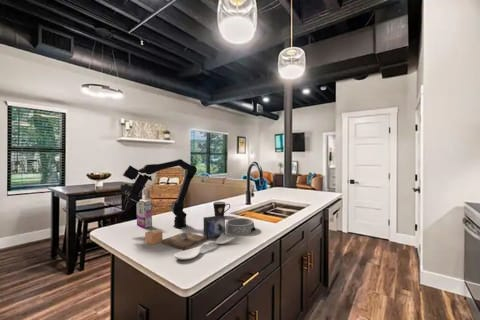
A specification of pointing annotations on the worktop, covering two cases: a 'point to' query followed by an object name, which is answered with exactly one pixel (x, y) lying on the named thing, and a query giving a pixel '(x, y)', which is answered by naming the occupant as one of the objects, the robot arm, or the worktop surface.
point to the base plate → (184, 240)
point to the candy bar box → (144, 213)
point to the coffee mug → (220, 208)
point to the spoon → (195, 251)
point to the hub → (153, 237)
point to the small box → (214, 227)
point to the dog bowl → (239, 226)
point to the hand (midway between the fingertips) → (124, 208)
